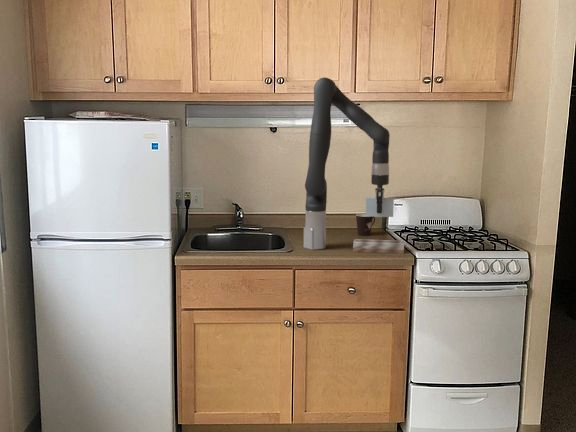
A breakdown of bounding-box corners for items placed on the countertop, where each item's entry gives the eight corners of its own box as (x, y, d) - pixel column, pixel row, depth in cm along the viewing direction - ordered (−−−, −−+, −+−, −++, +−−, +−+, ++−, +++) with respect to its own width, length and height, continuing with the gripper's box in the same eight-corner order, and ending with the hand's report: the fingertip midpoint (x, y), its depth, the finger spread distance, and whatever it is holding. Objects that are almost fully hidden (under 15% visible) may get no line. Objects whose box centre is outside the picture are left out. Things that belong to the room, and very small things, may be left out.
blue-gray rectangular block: (365, 216, 253) (365, 198, 252) (365, 215, 256) (366, 197, 255) (393, 216, 251) (393, 198, 250) (393, 215, 254) (393, 197, 253)
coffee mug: (359, 236, 285) (359, 217, 284) (353, 233, 294) (353, 214, 292) (381, 235, 288) (381, 215, 287) (374, 232, 297) (374, 213, 295)
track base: (352, 251, 253) (353, 242, 253) (354, 247, 262) (354, 238, 261) (403, 253, 250) (404, 244, 249) (403, 249, 258) (403, 240, 258)
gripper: (371, 172, 258) (371, 210, 261) (371, 174, 244) (370, 215, 247) (388, 172, 257) (387, 210, 259) (389, 175, 243) (388, 215, 246)
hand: (379, 212), depth 253 cm, fingers closed on blue-gray rectangular block, 3 cm apart
